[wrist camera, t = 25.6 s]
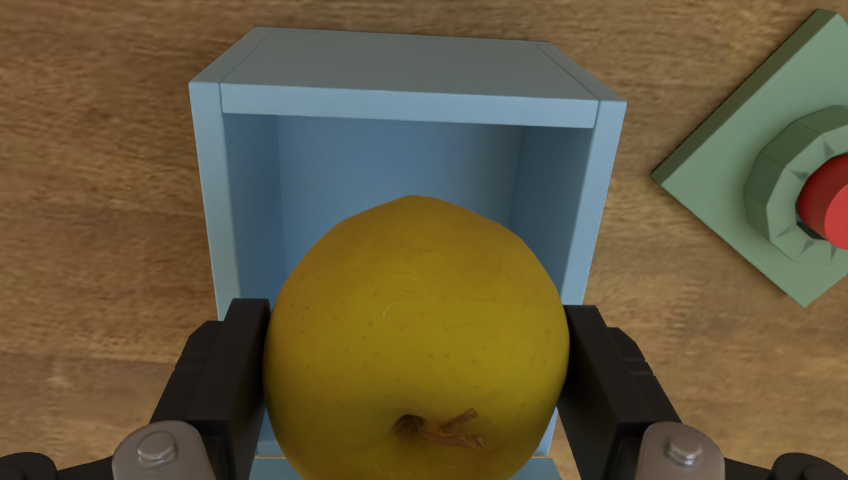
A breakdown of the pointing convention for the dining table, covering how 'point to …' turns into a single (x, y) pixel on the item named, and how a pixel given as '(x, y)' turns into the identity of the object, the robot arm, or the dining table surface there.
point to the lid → (279, 476)
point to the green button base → (772, 159)
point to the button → (827, 201)
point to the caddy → (396, 149)
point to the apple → (414, 349)
